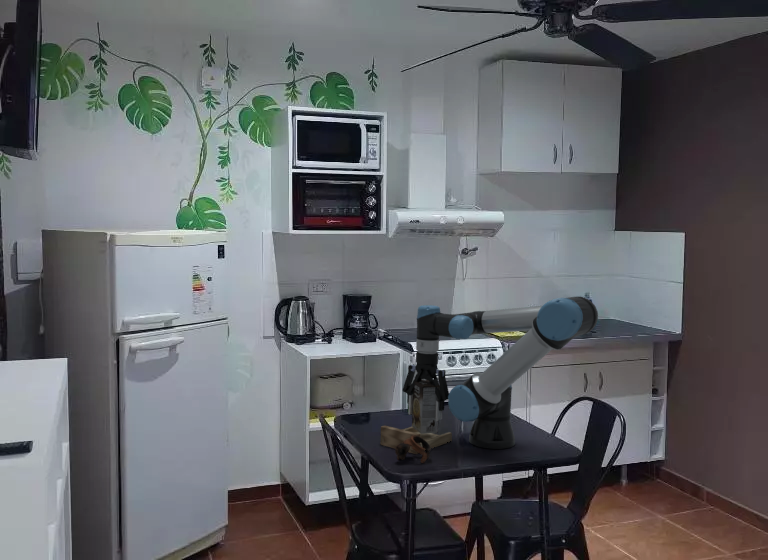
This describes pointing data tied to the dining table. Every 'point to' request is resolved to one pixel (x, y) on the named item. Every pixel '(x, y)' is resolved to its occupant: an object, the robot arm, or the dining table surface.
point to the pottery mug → (405, 446)
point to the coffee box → (424, 407)
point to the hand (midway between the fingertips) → (424, 416)
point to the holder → (397, 436)
